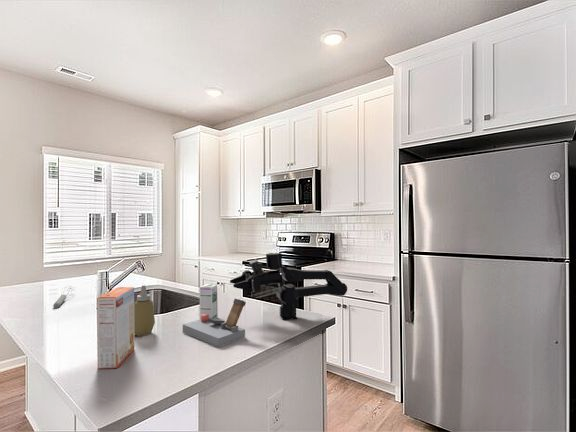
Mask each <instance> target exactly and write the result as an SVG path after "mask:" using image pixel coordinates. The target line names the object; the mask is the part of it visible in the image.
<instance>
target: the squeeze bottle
mask: <svg viewBox="0 0 576 432" xmlns="http://www.w3.org/2000/svg"><path fill="white" fill-rule="evenodd" d="M155 320H156V319H155V310H154V301H153V300H152V299H151V294H149V293H148V291H147V286H146V285H145V284H143V285H141V289H140V293H139V294H138V295H137V296H136V301H134V336H139V337H141V336H143V337H144V336H149V335H150V334H152V332H153V329H154V326H155V324H156V321H155Z"/></svg>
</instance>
